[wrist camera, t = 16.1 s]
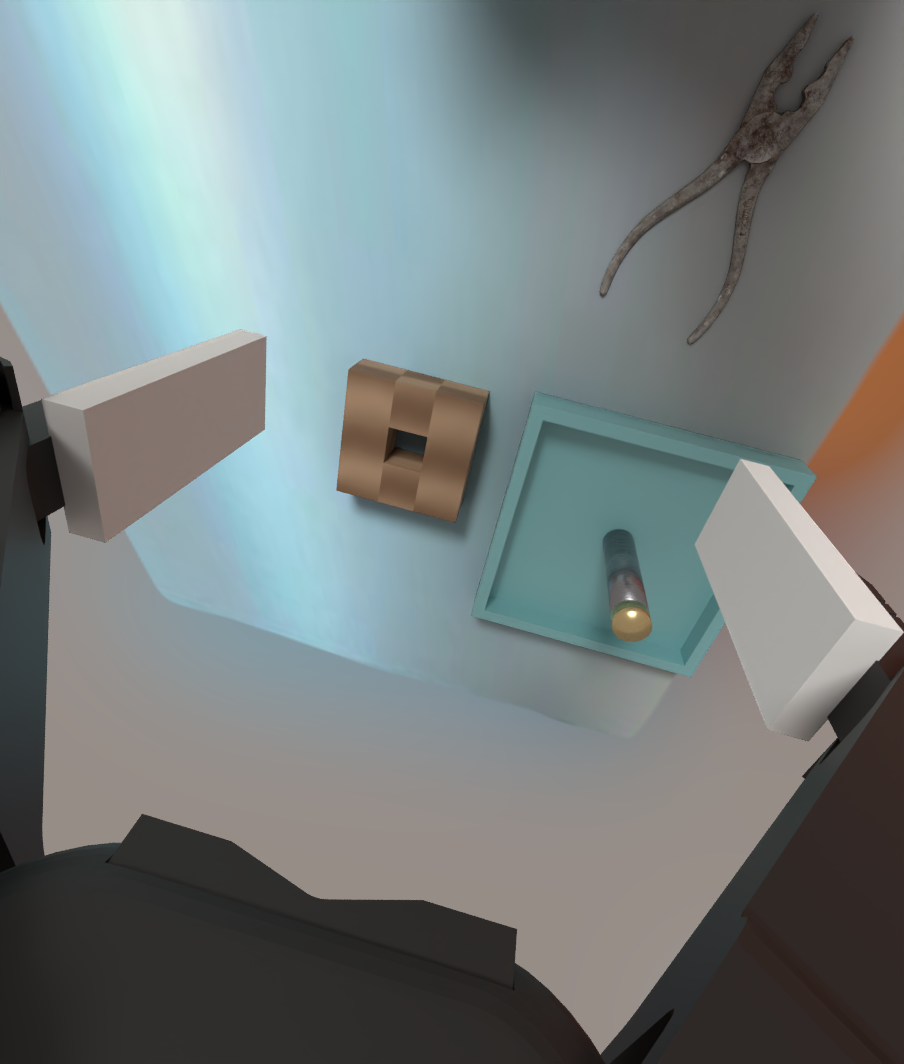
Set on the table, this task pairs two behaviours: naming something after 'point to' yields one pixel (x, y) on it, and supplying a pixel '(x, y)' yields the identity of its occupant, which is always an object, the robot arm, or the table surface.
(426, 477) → the pin block
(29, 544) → the robot arm
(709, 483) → the tray
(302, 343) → the table surface
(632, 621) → the pin
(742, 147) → the pliers
